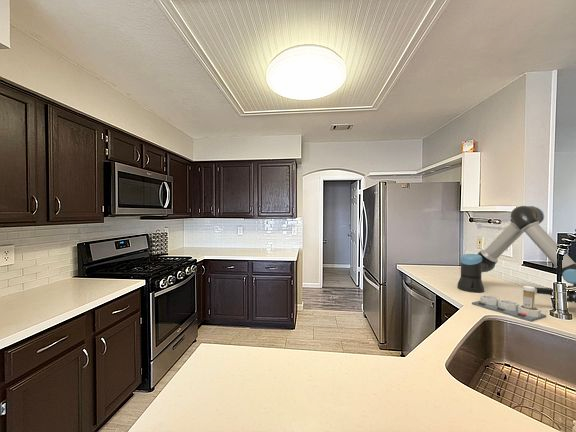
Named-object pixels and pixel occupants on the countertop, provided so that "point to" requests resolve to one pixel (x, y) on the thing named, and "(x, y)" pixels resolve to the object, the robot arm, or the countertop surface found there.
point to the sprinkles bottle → (528, 297)
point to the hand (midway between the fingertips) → (542, 295)
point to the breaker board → (508, 312)
